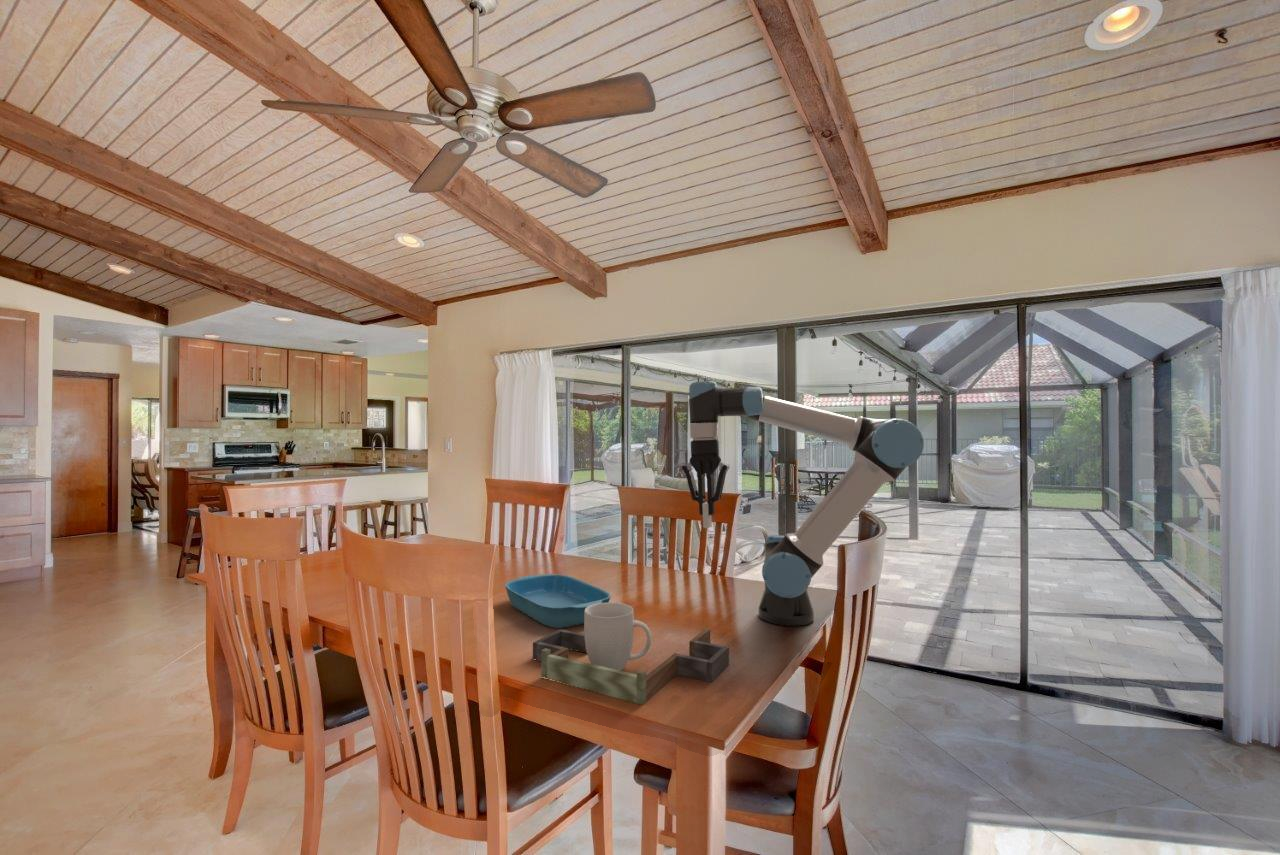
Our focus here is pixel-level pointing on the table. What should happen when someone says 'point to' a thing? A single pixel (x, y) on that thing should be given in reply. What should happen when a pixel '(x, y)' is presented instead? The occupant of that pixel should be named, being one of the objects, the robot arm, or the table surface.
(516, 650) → the table surface
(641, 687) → the channel
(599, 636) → the mug
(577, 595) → the casserole dish
